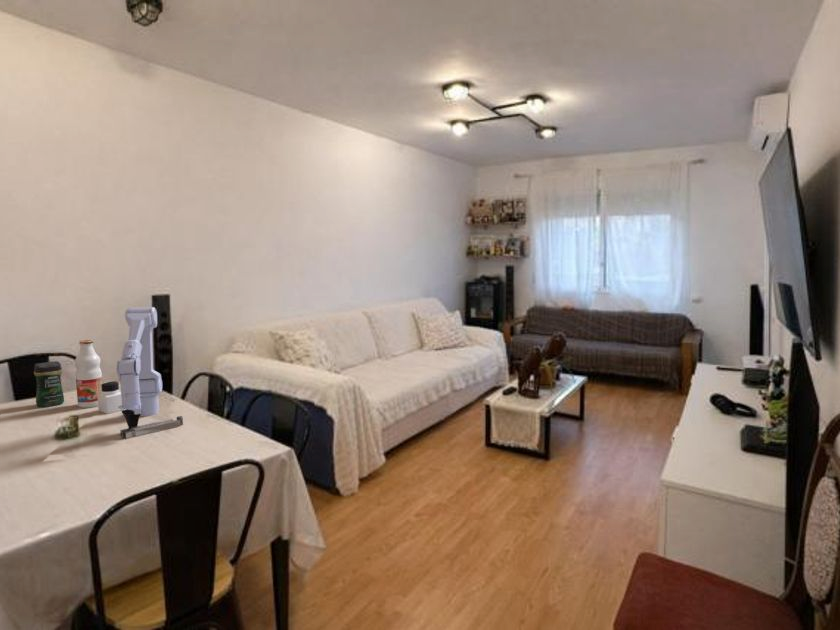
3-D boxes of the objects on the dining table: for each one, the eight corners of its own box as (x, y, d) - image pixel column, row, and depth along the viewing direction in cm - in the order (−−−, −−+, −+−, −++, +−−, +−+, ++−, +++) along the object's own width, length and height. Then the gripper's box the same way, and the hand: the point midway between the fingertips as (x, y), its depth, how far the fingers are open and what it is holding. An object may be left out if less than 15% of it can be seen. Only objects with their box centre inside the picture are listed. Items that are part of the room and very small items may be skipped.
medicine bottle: (125, 409, 208) (123, 381, 206) (107, 414, 202) (104, 385, 200) (116, 406, 211) (114, 379, 210) (98, 411, 205) (96, 382, 204)
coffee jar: (39, 409, 208) (35, 365, 206) (34, 405, 213) (30, 362, 211) (67, 403, 216) (63, 361, 213) (61, 400, 221) (57, 359, 218)
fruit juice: (109, 403, 217) (104, 339, 213) (87, 409, 208) (82, 343, 205) (94, 400, 220) (89, 338, 217) (72, 406, 211) (67, 341, 208)
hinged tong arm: (172, 425, 184) (171, 418, 184) (173, 425, 183) (173, 419, 183) (120, 436, 172) (120, 430, 172) (122, 438, 171) (121, 431, 171)
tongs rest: (108, 434, 179) (107, 422, 178) (172, 420, 194) (172, 409, 194) (123, 447, 166) (122, 435, 166) (191, 431, 182) (190, 419, 181)
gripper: (111, 390, 178) (114, 427, 180) (124, 398, 168) (126, 437, 170) (133, 386, 183) (135, 422, 185) (146, 394, 173) (149, 432, 175)
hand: (133, 429), depth 178 cm, fingers closed
